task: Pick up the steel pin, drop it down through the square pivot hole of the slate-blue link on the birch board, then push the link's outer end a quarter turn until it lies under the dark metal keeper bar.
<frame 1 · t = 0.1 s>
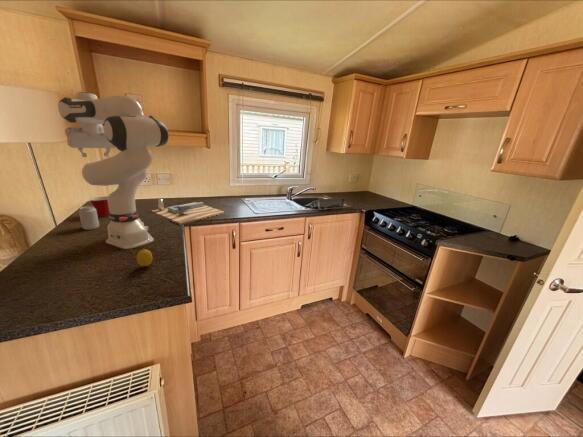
hand: (95, 156, 125), 39 cm above the countertop, tool pointing down, fingers open, 8 cm apart
plastic cup: (103, 216, 153), on the countertop
keeper: (185, 216, 163), resting on board
can: (91, 228, 134), on the countertop
link: (187, 206, 173), point 3 cm above the countertop, hinge at 0.0°
board: (188, 213, 169), on the countertop
pin: (161, 210, 166), point 1 cm above the countertop, touching board
lemon: (146, 267, 100), on the countertop
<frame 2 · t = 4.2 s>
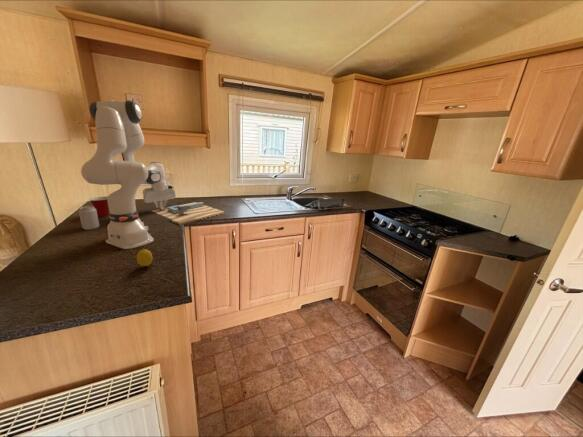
hand: (161, 206, 165), 4 cm above the countertop, tool pointing down, fingers closed on pin, 3 cm apart
pin: (161, 210, 166), point 1 cm above the countertop, touching board, gripper
everything else where it was.
when the fingers open (6 cm above the countertop, at t = 9.9 s): pin drops 1 cm, resting on board.
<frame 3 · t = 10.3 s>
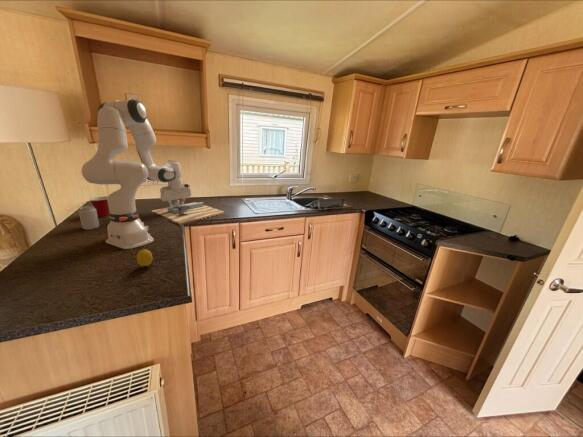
hand: (177, 205, 166), 6 cm above the countertop, tool pointing down, fingers open, 6 cm apart
pin: (177, 210, 167), point 2 cm above the countertop, touching board
everything else where it was.
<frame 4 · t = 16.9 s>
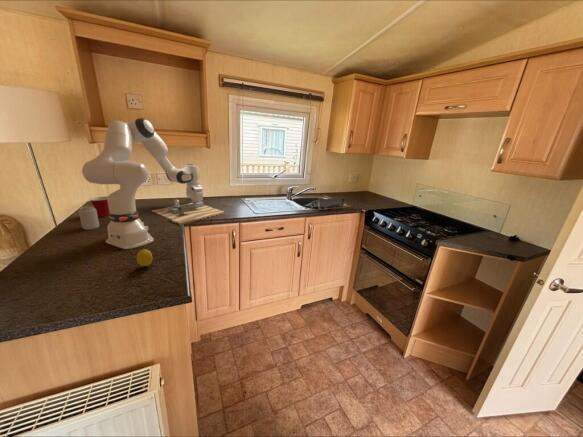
hand: (194, 204, 180), 3 cm above the countertop, tool pointing down, fingers closed
link: (187, 206, 173), point 3 cm above the countertop, hinge at -0.2°, touching gripper
everything else where it was.
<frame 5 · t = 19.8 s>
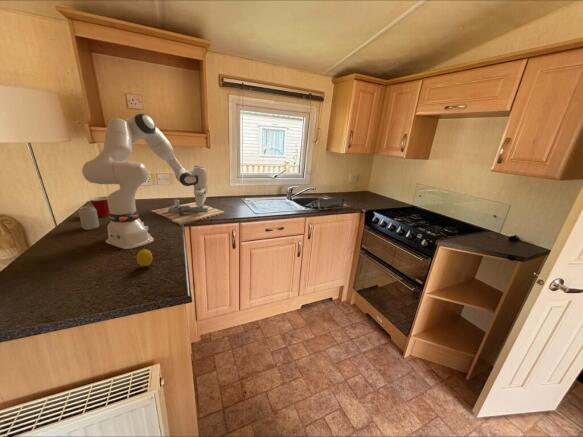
hand: (201, 208, 172), 3 cm above the countertop, tool pointing down, fingers closed
link: (189, 209, 168), point 3 cm above the countertop, hinge at -45.8°, touching gripper
everything else where it was.
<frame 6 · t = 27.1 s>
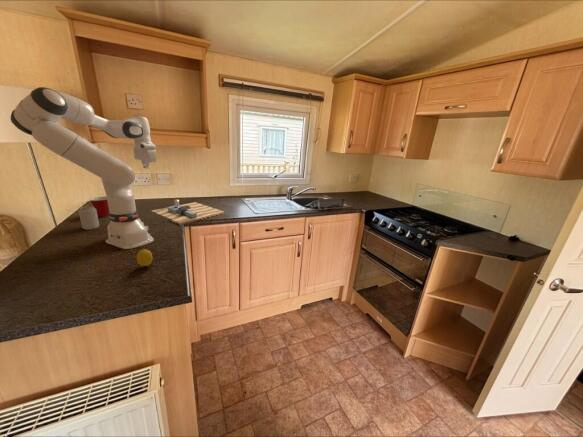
hand: (146, 168, 149), 31 cm above the countertop, tool pointing down, fingers closed
link: (184, 211, 162), point 3 cm above the countertop, hinge at -90.9°
everything else where it was.
at the end: link at -91° (first picture: +0°); pin 0.1 cm from the target spot, point 1.5 cm above the countertop; pin tilted 0° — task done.
